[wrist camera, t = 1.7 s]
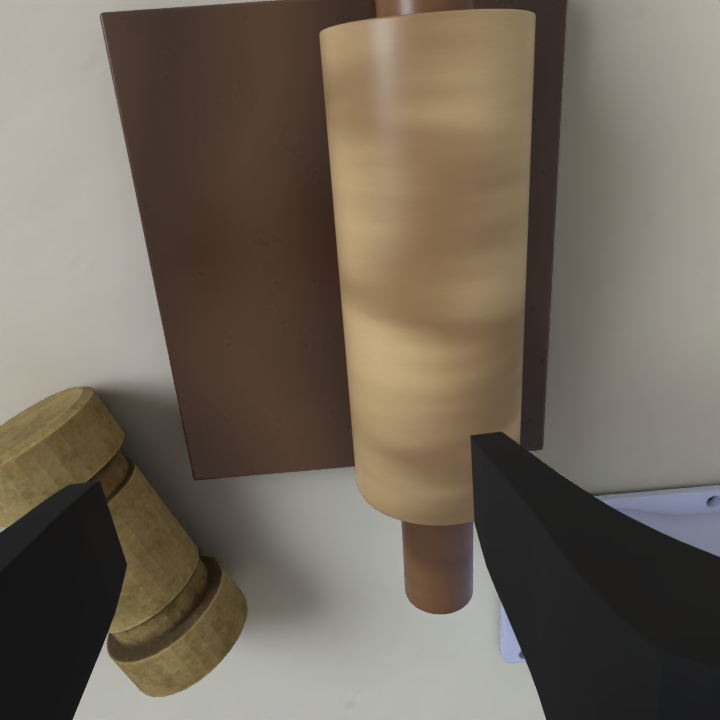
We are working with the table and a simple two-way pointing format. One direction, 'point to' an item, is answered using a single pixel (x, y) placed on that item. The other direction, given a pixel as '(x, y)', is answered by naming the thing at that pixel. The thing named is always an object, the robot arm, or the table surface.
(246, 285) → the pastry board
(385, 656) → the table surface
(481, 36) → the rolling pin
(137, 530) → the gavel
